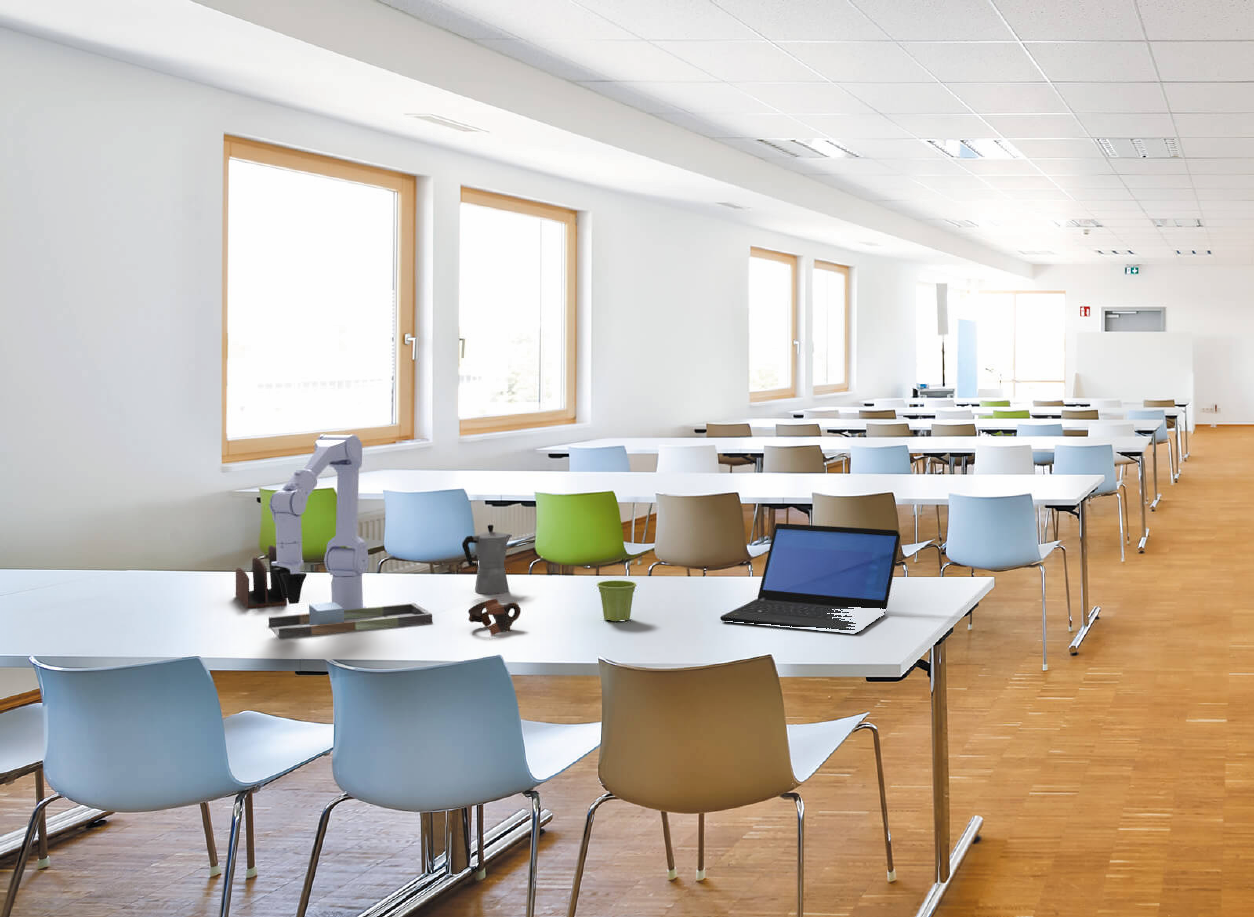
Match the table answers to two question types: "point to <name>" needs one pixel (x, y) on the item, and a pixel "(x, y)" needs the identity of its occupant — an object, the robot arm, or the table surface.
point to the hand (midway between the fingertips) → (290, 600)
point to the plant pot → (616, 599)
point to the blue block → (325, 613)
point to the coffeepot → (489, 560)
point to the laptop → (821, 576)
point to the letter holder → (260, 585)
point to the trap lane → (394, 614)
